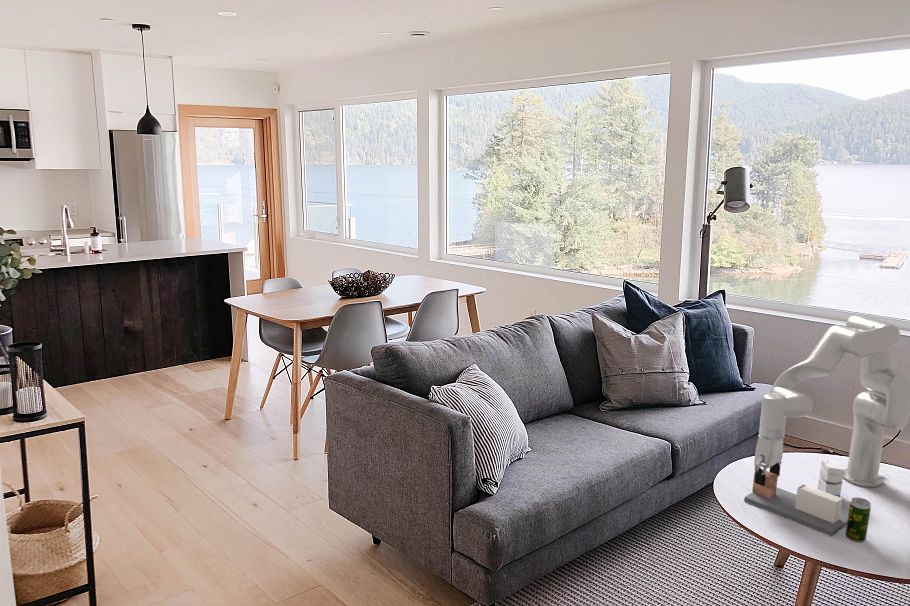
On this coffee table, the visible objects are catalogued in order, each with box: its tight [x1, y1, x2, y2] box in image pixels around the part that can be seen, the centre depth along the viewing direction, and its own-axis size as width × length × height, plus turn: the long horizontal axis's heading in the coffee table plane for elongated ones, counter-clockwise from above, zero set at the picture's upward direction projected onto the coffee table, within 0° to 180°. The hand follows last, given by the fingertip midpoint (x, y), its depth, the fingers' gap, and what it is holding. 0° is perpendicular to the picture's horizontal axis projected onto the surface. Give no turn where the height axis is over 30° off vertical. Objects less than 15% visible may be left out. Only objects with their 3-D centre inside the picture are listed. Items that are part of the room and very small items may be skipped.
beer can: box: [845, 497, 872, 544], centre depth 219 cm, size 5×5×12 cm
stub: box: [751, 470, 779, 498], centre depth 243 cm, size 4×6×7 cm, turn 41°
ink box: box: [817, 457, 845, 498], centre depth 245 cm, size 8×5×12 cm, turn 168°
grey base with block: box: [743, 484, 849, 537], centre depth 235 cm, size 15×28×9 cm, turn 41°
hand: (767, 479), depth 243 cm, fingers open, 9 cm apart
